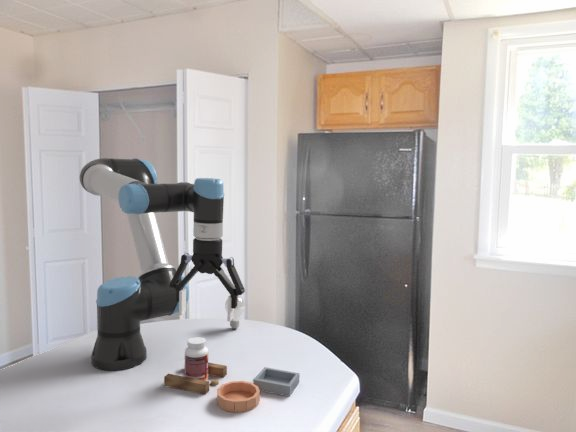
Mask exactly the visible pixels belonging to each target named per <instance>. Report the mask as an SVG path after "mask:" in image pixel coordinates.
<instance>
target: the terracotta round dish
mask: <svg viewBox="0 0 576 432" xmlns="http://www.w3.org/2000/svg"><path fill="white" fill-rule="evenodd" d="M260 394H261V391H260V390H259V387H258V386H256V385H255V384H253V382H249V381H245V380H232V381H228V382H226V383H223V384H221V385H220V386H219V387H218V388H217V389H216V401H217V402H216V403H217V407H219V408H220V409H221V410H223V411H226V412H231V413H244V412H245V413H246V412H249V411H251V410H253V409H255V408H257V406H258V405H259V403H260V398H261V396H260Z"/></svg>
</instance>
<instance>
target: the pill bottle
mask: <svg viewBox="0 0 576 432" xmlns="http://www.w3.org/2000/svg"><path fill="white" fill-rule="evenodd" d="M208 362H209V348H208V347H207V346H206V338H204V337H201V336H199V337H198V336H197V337H196V336H195V337H191V338H188V340H187V347H186V348H185V350H184V377H189V378H194V379H199V380H204V381H208V379H209V375H208Z"/></svg>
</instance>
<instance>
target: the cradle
mask: <svg viewBox="0 0 576 432" xmlns="http://www.w3.org/2000/svg"><path fill="white" fill-rule="evenodd" d="M227 369H228V367H227V365H225V364H218V363H213V362H209V361H208V376H213V377H218V378H224V377H226V376H227V374H228V373H227V371H228V370H227ZM163 378H164V379H163V381H164V382H163V384H164V387H168V388H173V389H176V390H182V391H187V392H192V393H197V394H202V395H207V394H209V392H210V385H211V386H218V385H219V380H218V379H213V380H211V381H208V380H207V381H204V380H199V379H194V378H189V377H185V375H184V376H183V375H179V374H178V375H177V374H172V373H167V374H165V375H164V377H163Z"/></svg>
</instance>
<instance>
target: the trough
mask: <svg viewBox="0 0 576 432" xmlns="http://www.w3.org/2000/svg"><path fill="white" fill-rule="evenodd" d="M300 375H301V374H300V373H299V372H295V371H288V370H283V369H277V368H271V367H266V366H264V367H263V368H262V370H260V372H259V373H258V374H257V375H256V376H255V377H254V378H253V381H252V383H253V384H255V385H256V386H258V387H259V391H260V392H267V393H271V394H275V395H276V394H277V395H281V396H285V395H286V397H291V395H292V394H293V392H294V391H295V390H296V388H297V386H298V385H299V383H300ZM294 389H295V390H294Z"/></svg>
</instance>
